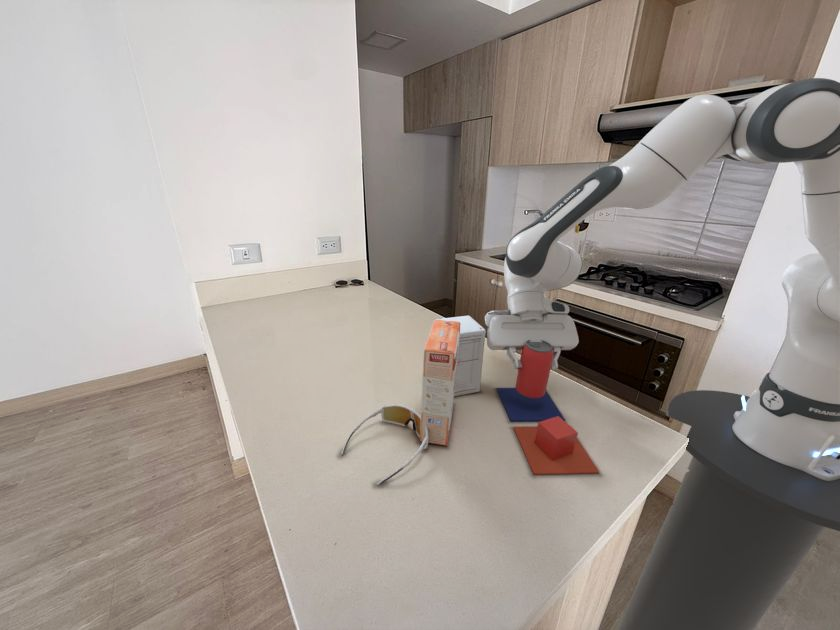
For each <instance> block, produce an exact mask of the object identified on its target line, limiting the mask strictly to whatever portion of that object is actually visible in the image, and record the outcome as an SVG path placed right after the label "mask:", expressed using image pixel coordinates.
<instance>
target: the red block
mask: <svg viewBox="0 0 840 630" xmlns="http://www.w3.org/2000/svg"><path fill="white" fill-rule="evenodd" d="M537 422H538V423H537V426H536V427H537V432H536V437H535V443H536V444H537V445H538V446H539V447H540V448H541V449H542V450H543V451H544V452H545V453H546V454H547V455H548V456H549V457H550V458H551V459H552V460H555V459H558V458H560V457H563V456H566V455H569V454H571V453H573V450H574V446H575V442H576V438H577V439H578V434H579V432H578V431H577V430H576V429H575V428H573V427H572V426H571V425H570V424H568V423H567V422H566V420H565V421H564V420H562V419H561V418H560V417H559V416H557V417H554V418H550V419H547V420H544V421H537Z"/></svg>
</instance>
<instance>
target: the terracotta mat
mask: <svg viewBox="0 0 840 630" xmlns="http://www.w3.org/2000/svg"><path fill="white" fill-rule="evenodd" d="M537 427H538V426H513V430H514V433H515V435H516V438H517V440H518V442H519V445H520V447H521V450H522V451H523V454H524V456H525V458H526V461H527V463H528V465H529V467H530V470H531V472H532V475H533V476H537V475H538V476H540V475H541V476H542V475H543V476H544V475H545V476H546V475H549V476H550V475H590V474H591V475H593V474H595V475H596V474H600V471H599V469H598V468H597V466H596V465H595V463H594V461H593V460H592V459H591V457H590V456H589V454H588V453H587V451H586V449H585V448H584V447H583V444H582V443H581V442H580V441H579V438H578V437H577V438H576V442H575V446H574V450H573V453H571V454H569V455H566V456H563V457H560V458H558V459H555V460H552V459H551V458H550V457H549V456H548V455H547V454H546V453H545V452H544V451H543V450H542V449H541V448H540V447H539V446H538V445H537V444H536V443H535V437H536V432H537Z"/></svg>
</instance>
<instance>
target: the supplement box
mask: <svg viewBox="0 0 840 630" xmlns="http://www.w3.org/2000/svg"><path fill="white" fill-rule="evenodd" d="M434 320H444V321H456V322H460V338H459V351H458V363H457V374H456V384H455V394H454V397H458V396H463V395H468V394H473V393H479V392H480V391H481V381H482V371H483V362H484V361H483V360H484V351H485V344H486V343H485V342H486V334H487V331H486V329H485V328H484V327H483V326H482V325H481V324H479V322H477V321H476V320H475V319H474V318H473V317H471V316H470V315H469V314H468V315H461V316H452V317H444V318H435V319H434Z"/></svg>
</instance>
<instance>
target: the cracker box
mask: <svg viewBox="0 0 840 630" xmlns="http://www.w3.org/2000/svg"><path fill="white" fill-rule="evenodd" d="M459 338H460V322H456V321H444V320H435V319H433V323H432V326H431V328H430V331H429V334H428V337H427V340H426V343H425V346H424V349H423V362H422V364H423V365H422V382H421V383H422V386H421V405H420V406H421V407H420V415H421V425H420V438H419V442H420V443H422V442H423V440H424V438H425V436H426V432H425V428H424V426H427V430H428V439H429V440H428V444H433V445H440V446H448V443H449V436H450V431H451V424H452V417H453V410H454V402H455V396H454V394H455V384H456V374H457V363H458V351H459Z"/></svg>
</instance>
